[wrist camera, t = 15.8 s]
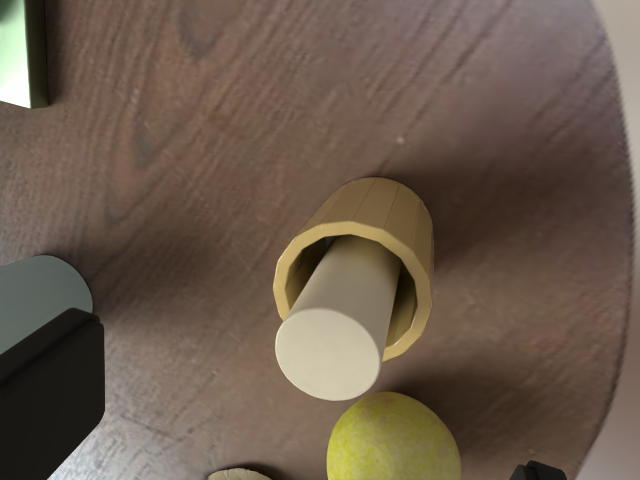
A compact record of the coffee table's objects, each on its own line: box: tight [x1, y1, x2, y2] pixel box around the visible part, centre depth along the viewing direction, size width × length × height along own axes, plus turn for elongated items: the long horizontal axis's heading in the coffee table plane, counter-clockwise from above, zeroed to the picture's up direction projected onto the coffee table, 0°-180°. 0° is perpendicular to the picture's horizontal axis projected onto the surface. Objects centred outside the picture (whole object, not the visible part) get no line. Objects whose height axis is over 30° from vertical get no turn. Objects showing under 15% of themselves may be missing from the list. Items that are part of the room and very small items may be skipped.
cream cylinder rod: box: [275, 234, 402, 401], centre depth 18 cm, size 3×3×10 cm
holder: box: [273, 177, 434, 362], centre depth 20 cm, size 6×6×7 cm
